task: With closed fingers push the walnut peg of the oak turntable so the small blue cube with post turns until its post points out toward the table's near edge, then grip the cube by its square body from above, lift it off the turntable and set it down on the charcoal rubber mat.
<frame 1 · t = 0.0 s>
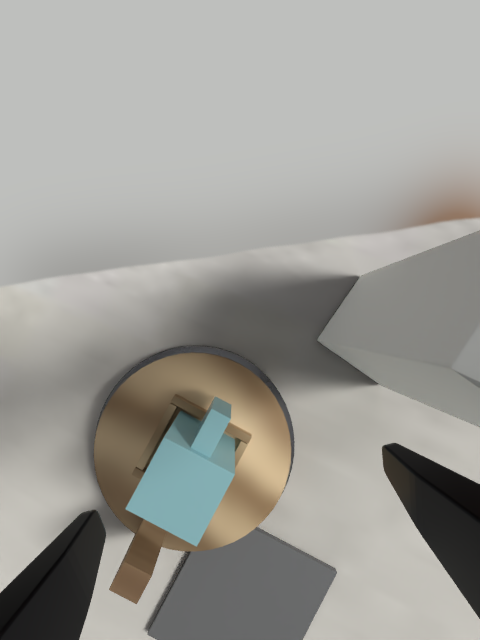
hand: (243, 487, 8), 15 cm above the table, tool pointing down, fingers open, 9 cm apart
milk carton: (369, 330, 24), on the table
mat: (242, 598, 24), on the table
turntable: (189, 463, 20), point 4 cm above the table, hinge at 0.0°, touching blue cube with post
turntable base: (196, 442, 24), on the table
blue cube with post: (193, 451, 22), point 2 cm above the table, touching turntable
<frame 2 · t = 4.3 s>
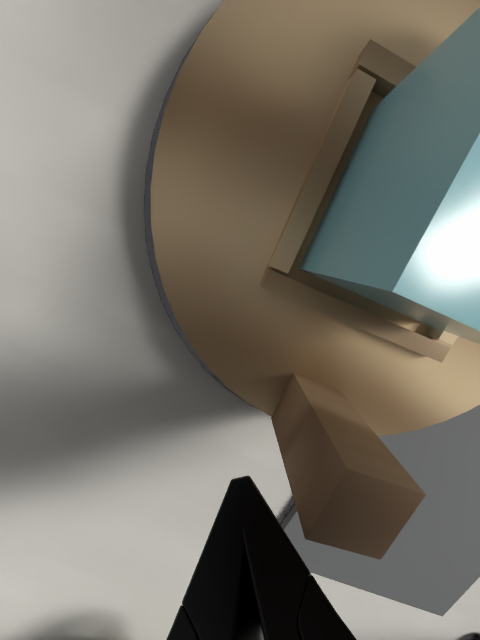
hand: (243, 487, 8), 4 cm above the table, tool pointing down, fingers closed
mat: (418, 502, 14), on the table
turntable: (443, 220, 7), point 4 cm above the table, hinge at 4.8°, touching gripper, blue cube with post
turntable base: (371, 230, 10), on the table
blue cube with post: (398, 226, 9), point 2 cm above the table, touching turntable
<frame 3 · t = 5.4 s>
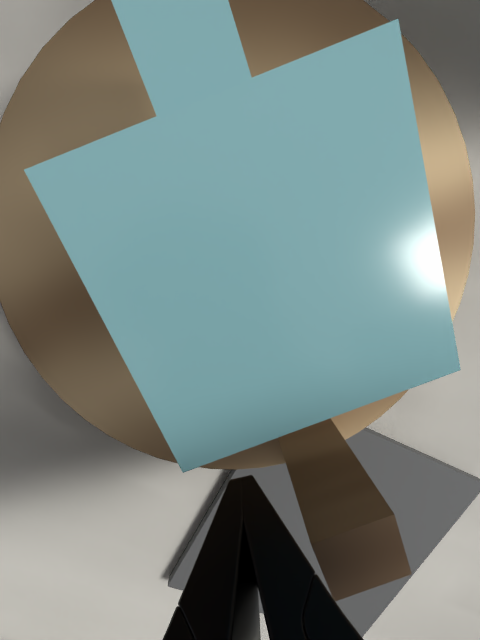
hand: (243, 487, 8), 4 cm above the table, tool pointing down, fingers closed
mat: (323, 528, 14), on the table
turntable: (249, 270, 7), point 4 cm above the table, hinge at 47.9°, touching gripper, blue cube with post
blue cube with post: (244, 267, 9), point 2 cm above the table, touching turntable
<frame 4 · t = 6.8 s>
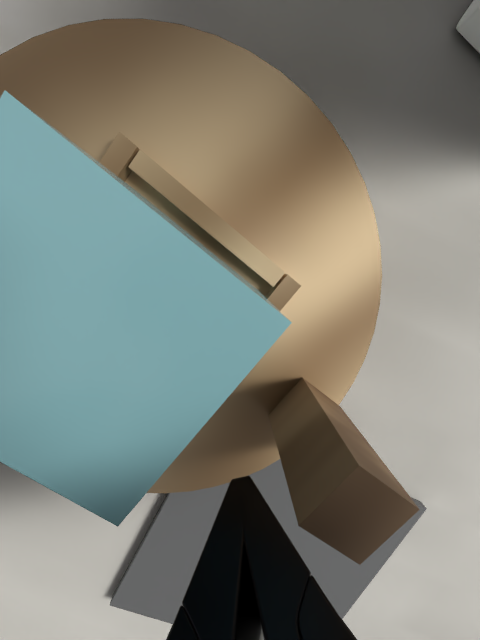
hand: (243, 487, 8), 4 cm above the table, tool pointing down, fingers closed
mat: (264, 549, 14), on the table
turntable: (138, 310, 8), point 4 cm above the table, hinge at 78.3°, touching gripper, blue cube with post
blue cube with post: (155, 300, 9), point 2 cm above the table, touching turntable
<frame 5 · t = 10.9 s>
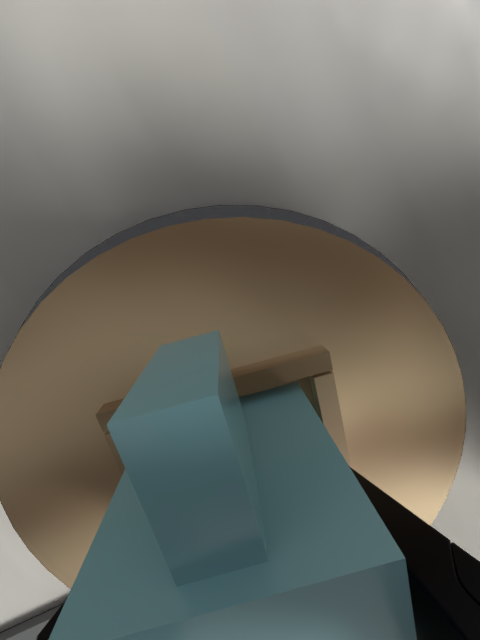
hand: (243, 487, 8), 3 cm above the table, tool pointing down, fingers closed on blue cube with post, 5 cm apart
turntable: (246, 516, 7), point 4 cm above the table, hinge at 78.2°, touching blue cube with post
turntable base: (238, 433, 11), on the table
blue cube with post: (241, 465, 9), point 2 cm above the table, touching gripper, turntable
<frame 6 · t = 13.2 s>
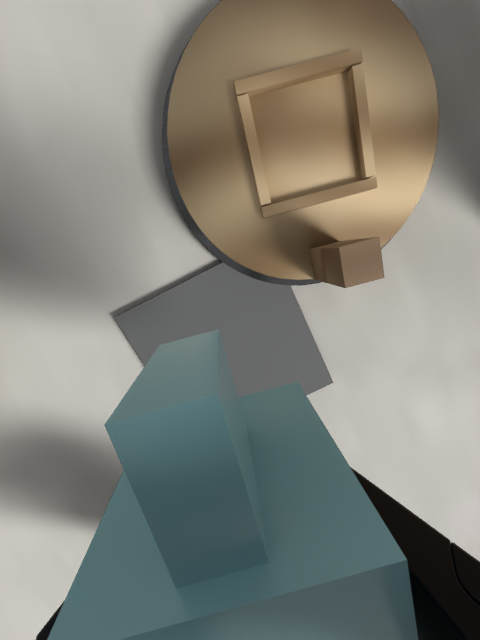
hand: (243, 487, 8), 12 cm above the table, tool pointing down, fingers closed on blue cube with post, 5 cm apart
mat: (229, 350, 20), on the table
turntable: (317, 127, 14), point 4 cm above the table, hinge at 78.2°
turntable base: (298, 152, 17), on the table
blue cube with post: (241, 465, 9), point 11 cm above the table, touching gripper
when the fingers open (3 cm above the table, at t = 15.4 s): blue cube with post drops 1 cm, resting on mat.
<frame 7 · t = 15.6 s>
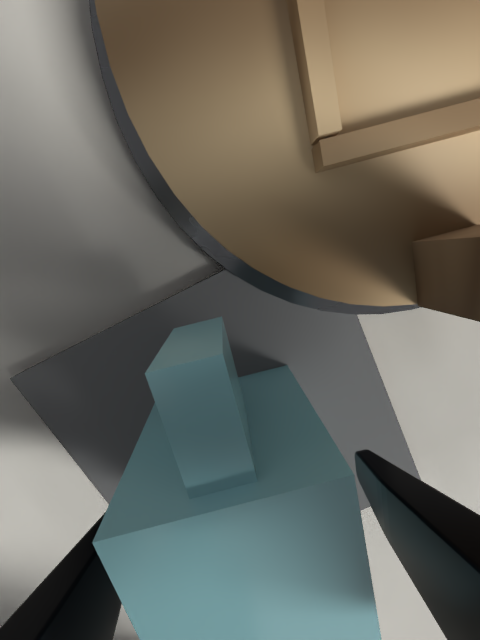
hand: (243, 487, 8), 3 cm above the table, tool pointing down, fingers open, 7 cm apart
mat: (238, 430, 11), on the table
turntable base: (386, 38, 8), on the table
blue cube with post: (238, 437, 11), resting on mat
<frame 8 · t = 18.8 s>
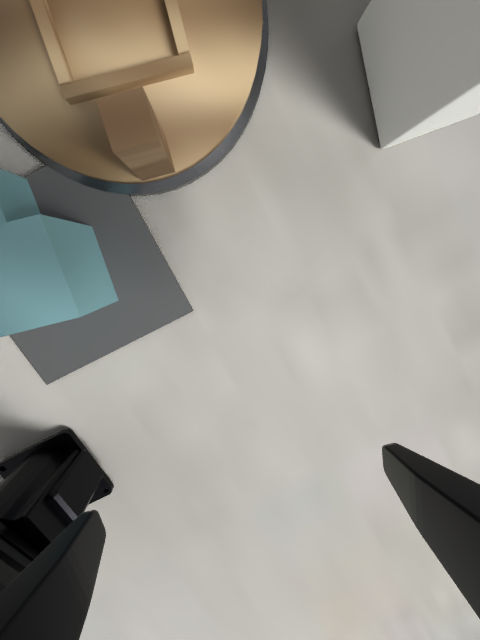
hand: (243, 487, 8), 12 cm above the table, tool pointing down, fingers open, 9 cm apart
milk carton: (417, 74, 17), on the table
mat: (72, 272, 18), on the table
turntable base: (121, 37, 16), on the table
blue cube with post: (69, 273, 18), resting on mat
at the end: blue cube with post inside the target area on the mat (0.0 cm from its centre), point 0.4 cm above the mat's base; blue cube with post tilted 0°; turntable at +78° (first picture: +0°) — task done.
